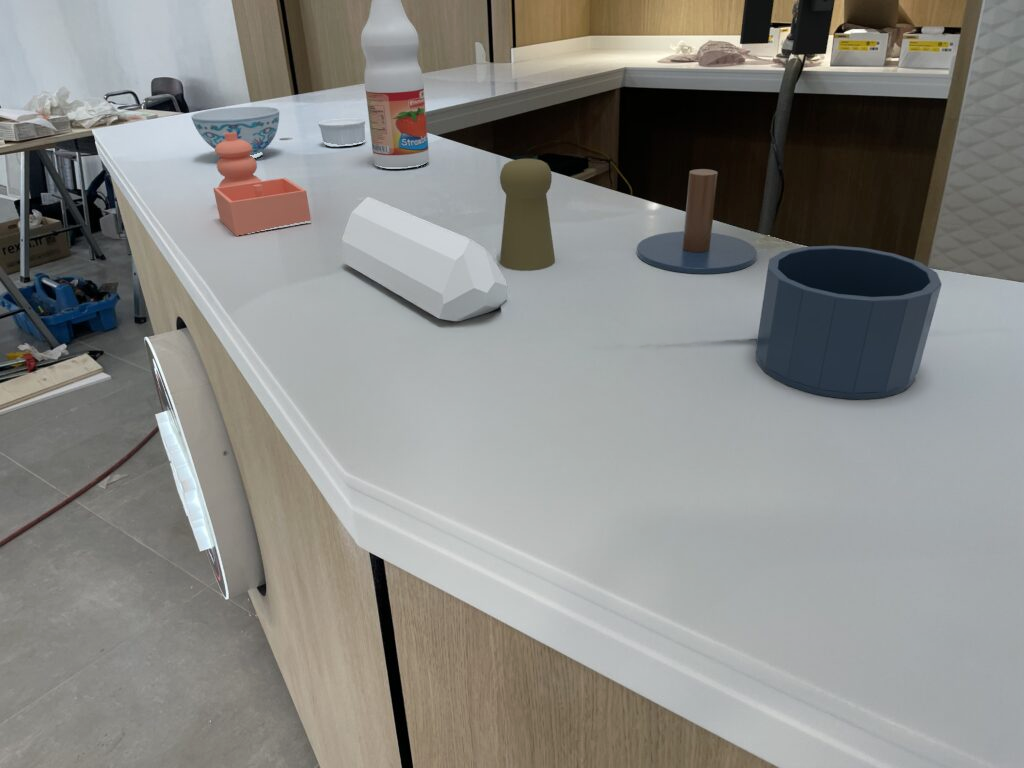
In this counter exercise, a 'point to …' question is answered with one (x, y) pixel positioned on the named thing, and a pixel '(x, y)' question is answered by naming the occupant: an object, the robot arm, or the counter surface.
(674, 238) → the cover
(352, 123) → the ramekin
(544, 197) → the cork
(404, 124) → the fruit juice
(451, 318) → the crystal
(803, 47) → the robot arm
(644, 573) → the counter surface
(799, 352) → the blue round pot
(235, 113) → the chinaware
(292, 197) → the pottery
